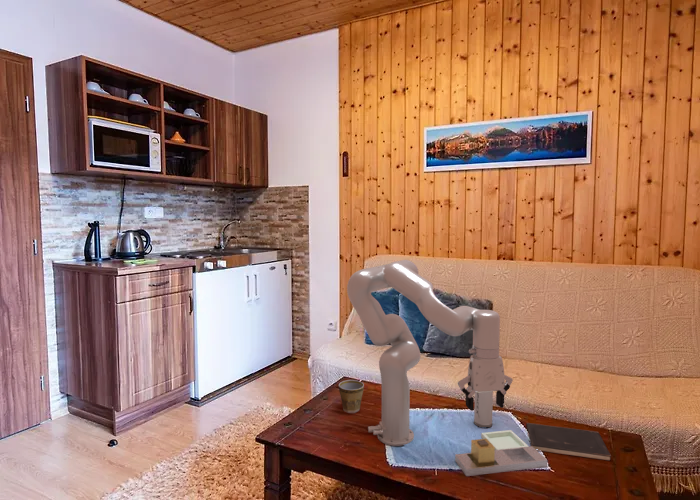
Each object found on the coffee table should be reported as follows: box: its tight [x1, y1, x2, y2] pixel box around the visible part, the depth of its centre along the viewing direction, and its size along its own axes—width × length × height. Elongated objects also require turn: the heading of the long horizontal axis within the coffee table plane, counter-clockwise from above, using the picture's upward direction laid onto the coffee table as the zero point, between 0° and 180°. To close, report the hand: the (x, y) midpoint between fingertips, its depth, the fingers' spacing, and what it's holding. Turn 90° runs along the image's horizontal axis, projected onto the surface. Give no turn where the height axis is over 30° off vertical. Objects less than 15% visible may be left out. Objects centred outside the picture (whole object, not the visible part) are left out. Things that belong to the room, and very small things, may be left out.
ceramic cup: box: [338, 379, 365, 414], centre depth 171 cm, size 13×10×10 cm
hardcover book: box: [525, 422, 612, 461], centre depth 144 cm, size 16×23×2 cm
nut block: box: [470, 438, 495, 467], centre depth 130 cm, size 5×5×7 cm
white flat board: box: [454, 445, 548, 477], centre depth 132 cm, size 26×8×2 cm, turn 100°
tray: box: [480, 429, 529, 450], centre depth 143 cm, size 11×11×2 cm
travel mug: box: [473, 391, 494, 428], centre depth 157 cm, size 6×7×20 cm
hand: (484, 407), depth 130 cm, fingers open, 9 cm apart
